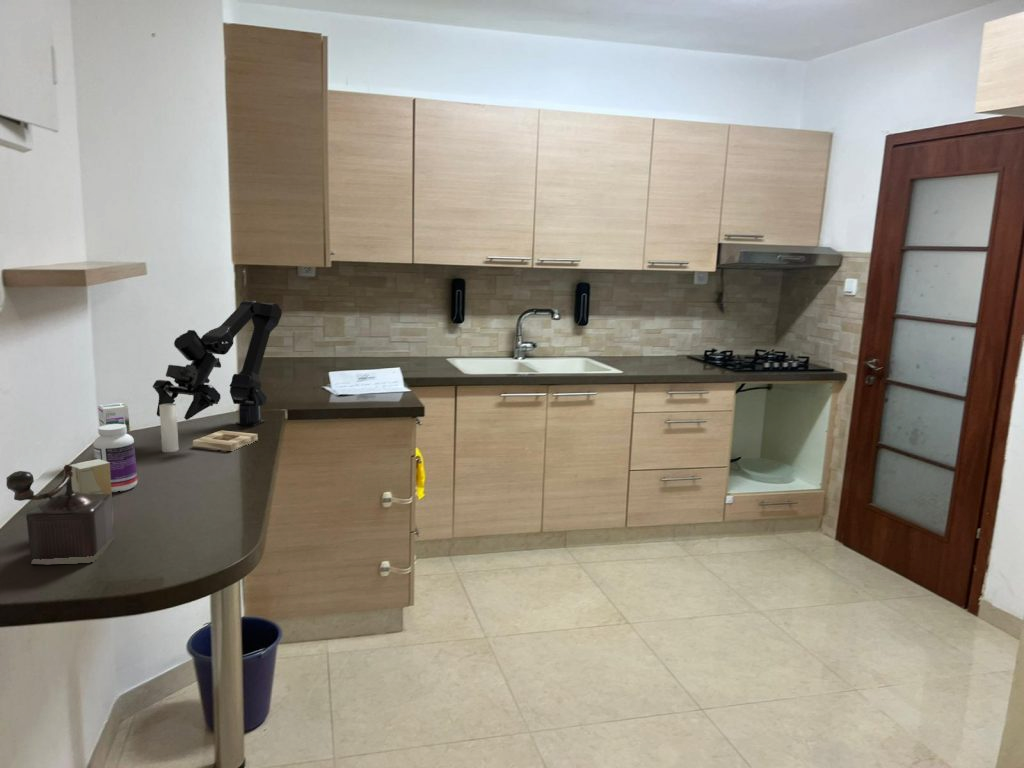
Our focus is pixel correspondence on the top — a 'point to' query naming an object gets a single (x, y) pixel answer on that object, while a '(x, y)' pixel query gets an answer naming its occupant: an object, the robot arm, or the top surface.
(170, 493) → the top surface
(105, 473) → the skincare box
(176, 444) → the peg
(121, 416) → the syrup box
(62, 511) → the manual coffee grinder
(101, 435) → the pill bottle
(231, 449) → the socket block
